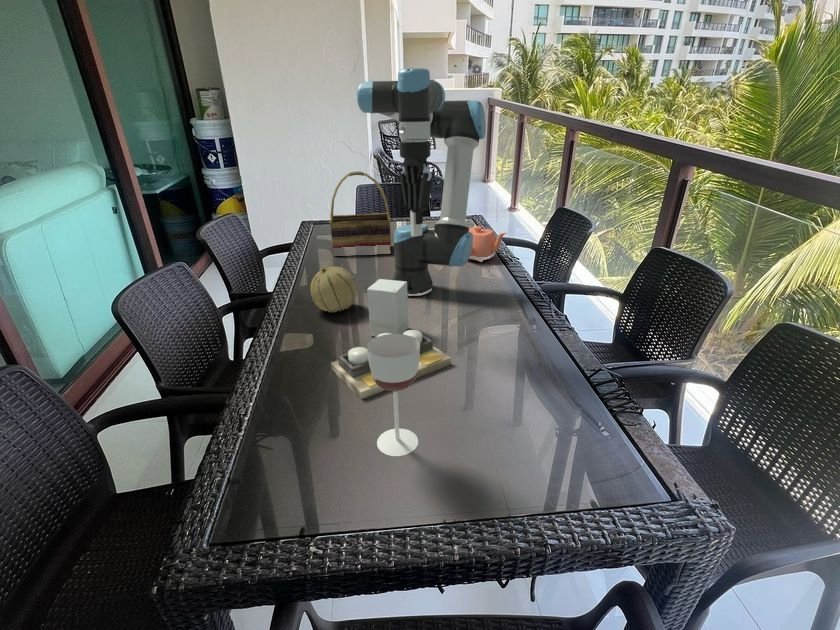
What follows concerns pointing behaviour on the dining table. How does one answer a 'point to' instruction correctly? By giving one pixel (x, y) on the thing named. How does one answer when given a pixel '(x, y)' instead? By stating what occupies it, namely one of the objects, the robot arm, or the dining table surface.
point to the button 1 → (358, 356)
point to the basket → (360, 224)
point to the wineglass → (395, 383)
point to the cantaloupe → (333, 289)
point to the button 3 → (414, 334)
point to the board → (362, 377)
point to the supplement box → (388, 307)
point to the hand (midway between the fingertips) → (416, 235)
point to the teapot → (484, 242)
